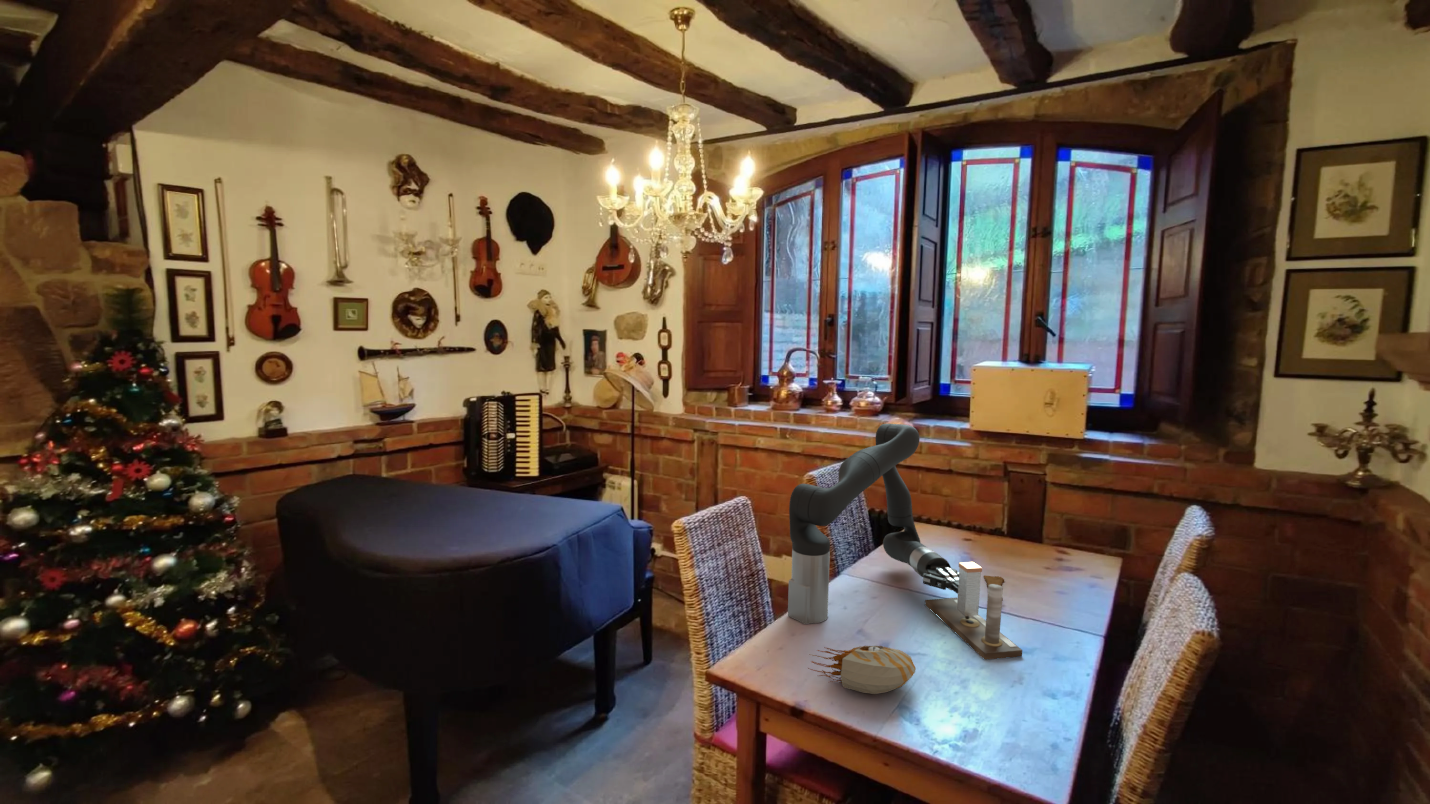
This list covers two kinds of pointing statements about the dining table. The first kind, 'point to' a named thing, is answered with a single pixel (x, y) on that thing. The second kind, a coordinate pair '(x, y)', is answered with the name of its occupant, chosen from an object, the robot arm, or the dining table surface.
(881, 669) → the nautilus
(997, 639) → the wooden base plate
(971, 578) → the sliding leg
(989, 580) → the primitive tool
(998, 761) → the dining table surface
